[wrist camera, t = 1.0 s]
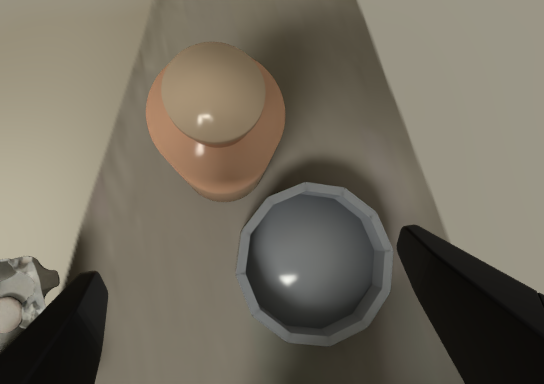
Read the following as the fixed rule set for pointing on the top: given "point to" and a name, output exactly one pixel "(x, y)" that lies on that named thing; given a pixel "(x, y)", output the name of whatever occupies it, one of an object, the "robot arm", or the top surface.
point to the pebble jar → (216, 119)
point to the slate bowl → (314, 264)
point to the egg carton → (22, 294)
